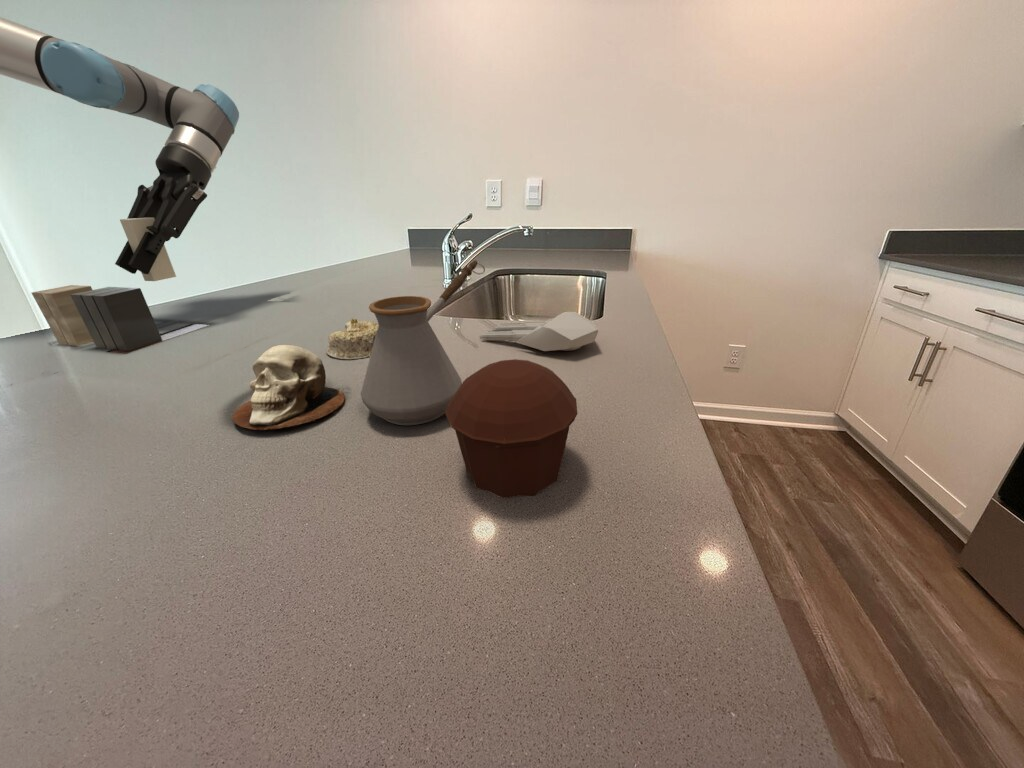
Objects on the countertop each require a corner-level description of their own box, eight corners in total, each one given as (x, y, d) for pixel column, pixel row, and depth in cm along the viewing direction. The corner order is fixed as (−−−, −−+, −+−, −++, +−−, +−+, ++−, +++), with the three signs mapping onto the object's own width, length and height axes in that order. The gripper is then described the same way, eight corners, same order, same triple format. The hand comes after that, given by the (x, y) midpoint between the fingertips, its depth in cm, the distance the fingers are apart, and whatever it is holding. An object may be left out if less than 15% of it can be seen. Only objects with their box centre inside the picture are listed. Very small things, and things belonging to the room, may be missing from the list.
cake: (395, 340, 72) (393, 310, 70) (381, 363, 63) (378, 330, 61) (338, 337, 72) (334, 308, 69) (316, 360, 63) (310, 327, 60)
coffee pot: (422, 445, 42) (401, 301, 35) (343, 420, 47) (312, 289, 40) (518, 369, 58) (516, 261, 52) (453, 356, 63) (444, 257, 57)
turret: (505, 338, 77) (500, 313, 75) (608, 337, 67) (606, 308, 65) (475, 356, 69) (470, 329, 67) (588, 358, 59) (585, 326, 57)
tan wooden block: (50, 352, 69) (17, 293, 65) (142, 325, 82) (119, 274, 78) (84, 356, 67) (52, 295, 63) (172, 328, 80) (151, 275, 76)
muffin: (497, 422, 45) (493, 337, 41) (592, 450, 40) (599, 356, 36) (426, 484, 36) (411, 383, 32) (537, 530, 31) (538, 417, 27)
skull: (304, 434, 42) (224, 362, 40) (264, 476, 47) (192, 413, 45) (369, 381, 52) (308, 322, 50) (331, 420, 57) (274, 367, 55)
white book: (144, 280, 71) (119, 219, 67) (167, 276, 74) (144, 217, 70) (154, 281, 70) (129, 219, 66) (176, 276, 74) (154, 217, 70)
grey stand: (93, 356, 67) (61, 295, 63) (180, 328, 80) (159, 276, 76) (129, 360, 65) (99, 297, 61) (212, 331, 78) (192, 277, 74)
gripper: (238, 176, 77) (188, 283, 70) (176, 178, 80) (121, 280, 73) (203, 141, 70) (143, 256, 63) (136, 144, 73) (72, 254, 66)
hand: (131, 268), depth 68 cm, fingers closed on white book, 2 cm apart
